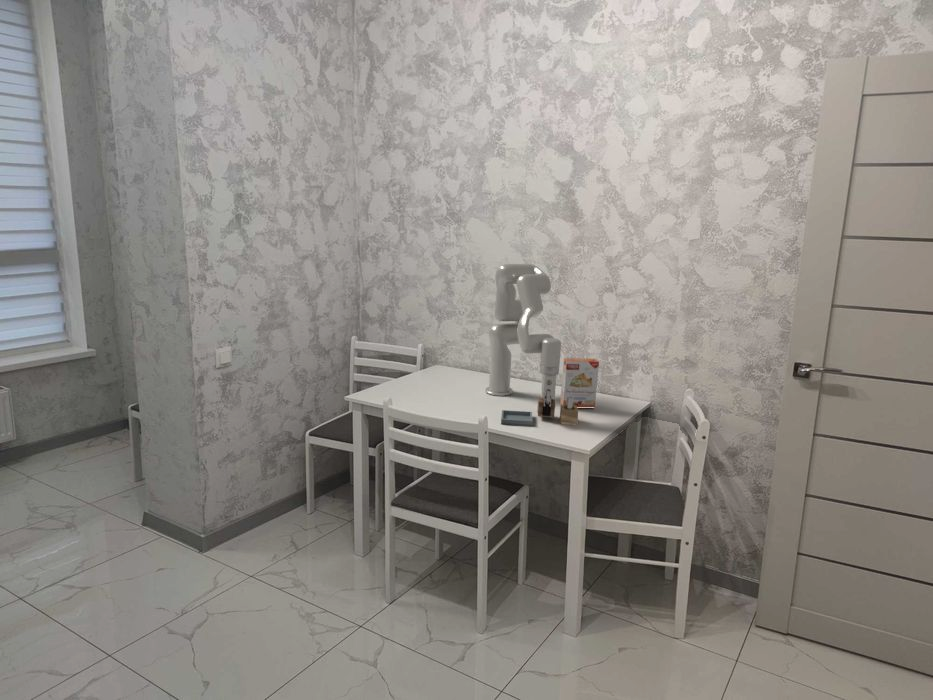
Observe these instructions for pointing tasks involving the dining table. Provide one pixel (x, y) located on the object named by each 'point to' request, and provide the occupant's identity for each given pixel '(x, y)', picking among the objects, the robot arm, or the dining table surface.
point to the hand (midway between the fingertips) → (545, 412)
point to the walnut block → (541, 404)
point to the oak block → (568, 415)
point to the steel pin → (569, 403)
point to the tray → (516, 418)
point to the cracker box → (579, 381)
